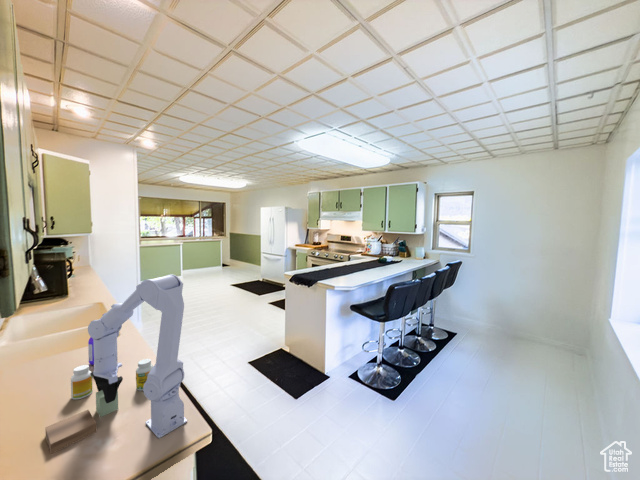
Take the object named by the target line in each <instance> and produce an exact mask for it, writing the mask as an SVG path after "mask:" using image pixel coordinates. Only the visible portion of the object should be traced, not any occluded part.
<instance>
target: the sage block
mask: <svg viewBox="0 0 640 480" xmlns="http://www.w3.org/2000/svg"><path fill="white" fill-rule="evenodd" d="M95 410H96V411H95V412H96V413H97V414H98V416H99V417H100V418H102V417H104V416H107V415H109V414H111V413H112V412H115V411H117V410H119V390H118V391H117V395H116V398H115V400H114V401H112V402H110V403H106V401H105V398H104V393H103V391H102V390H101V391H99V392H98V391H96V392H95Z"/></svg>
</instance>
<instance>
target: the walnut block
mask: <svg viewBox="0 0 640 480" xmlns="http://www.w3.org/2000/svg"><path fill="white" fill-rule="evenodd" d="M95 433H97V422H96V420H95V418H94V416H93V415H92V413H91V412H90V410H89V409H86V410H84V411H81V412H78V413H77V414H74V415H71V416H70V417H67V418H65V419H62V420H59V421H57V422H54V423H53V424H50V425H48V426H46V427H45V439H46V443H47V446H48V449H49V452H50V455H52V454H53V453H56V452H58V451H61V450H62V449H64V448H67V447H69V446H71V445H72V444H75V443H77V442H79V441H81V440H83V439H85V438H87V437H89V436H92V435H93V434H95Z"/></svg>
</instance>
